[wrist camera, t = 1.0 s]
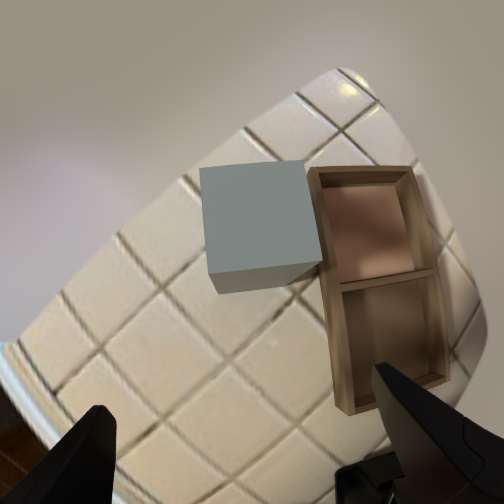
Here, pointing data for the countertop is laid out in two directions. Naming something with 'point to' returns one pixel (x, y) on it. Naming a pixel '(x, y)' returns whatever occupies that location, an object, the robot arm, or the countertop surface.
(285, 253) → the grey tall block
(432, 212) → the countertop surface
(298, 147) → the countertop surface
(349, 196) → the slot holder
